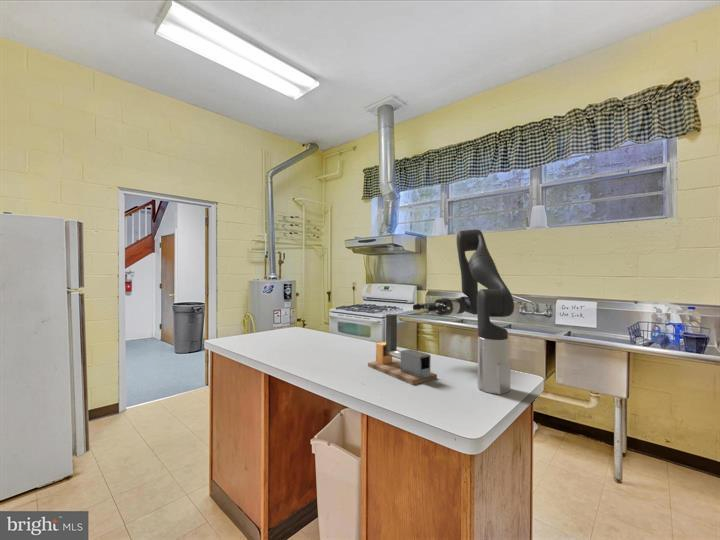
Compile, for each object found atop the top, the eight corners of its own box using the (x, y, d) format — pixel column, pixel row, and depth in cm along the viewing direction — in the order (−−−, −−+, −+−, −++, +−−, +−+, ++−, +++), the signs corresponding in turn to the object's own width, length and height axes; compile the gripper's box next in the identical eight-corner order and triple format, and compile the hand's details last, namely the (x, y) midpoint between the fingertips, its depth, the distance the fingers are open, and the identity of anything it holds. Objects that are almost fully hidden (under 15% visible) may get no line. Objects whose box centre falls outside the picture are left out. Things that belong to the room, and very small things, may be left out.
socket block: (392, 362, 132) (392, 343, 133) (382, 364, 130) (382, 345, 130) (385, 360, 136) (386, 341, 136) (376, 361, 133) (376, 343, 133)
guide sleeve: (430, 376, 115) (430, 354, 115) (419, 378, 112) (420, 356, 112) (410, 369, 123) (410, 349, 123) (400, 371, 120) (400, 350, 121)
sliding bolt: (415, 362, 120) (415, 318, 120) (409, 363, 118) (409, 318, 118) (385, 352, 134) (385, 312, 134) (379, 353, 133) (380, 313, 133)
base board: (436, 378, 117) (436, 374, 117) (412, 385, 110) (412, 380, 110) (390, 361, 139) (390, 358, 139) (367, 366, 132) (368, 362, 132)
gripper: (434, 297, 149) (408, 298, 139) (460, 298, 137) (433, 299, 128) (434, 313, 148) (408, 315, 139) (460, 316, 137) (433, 318, 127)
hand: (420, 307), depth 133 cm, fingers open, 8 cm apart
